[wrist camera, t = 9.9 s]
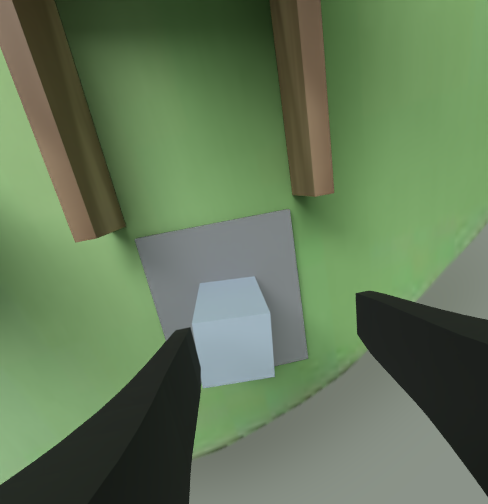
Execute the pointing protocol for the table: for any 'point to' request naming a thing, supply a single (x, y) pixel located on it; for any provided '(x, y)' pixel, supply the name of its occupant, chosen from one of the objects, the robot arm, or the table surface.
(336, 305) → the table surface
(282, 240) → the pad
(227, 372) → the block
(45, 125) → the brown u-shaped frame
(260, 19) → the table surface
